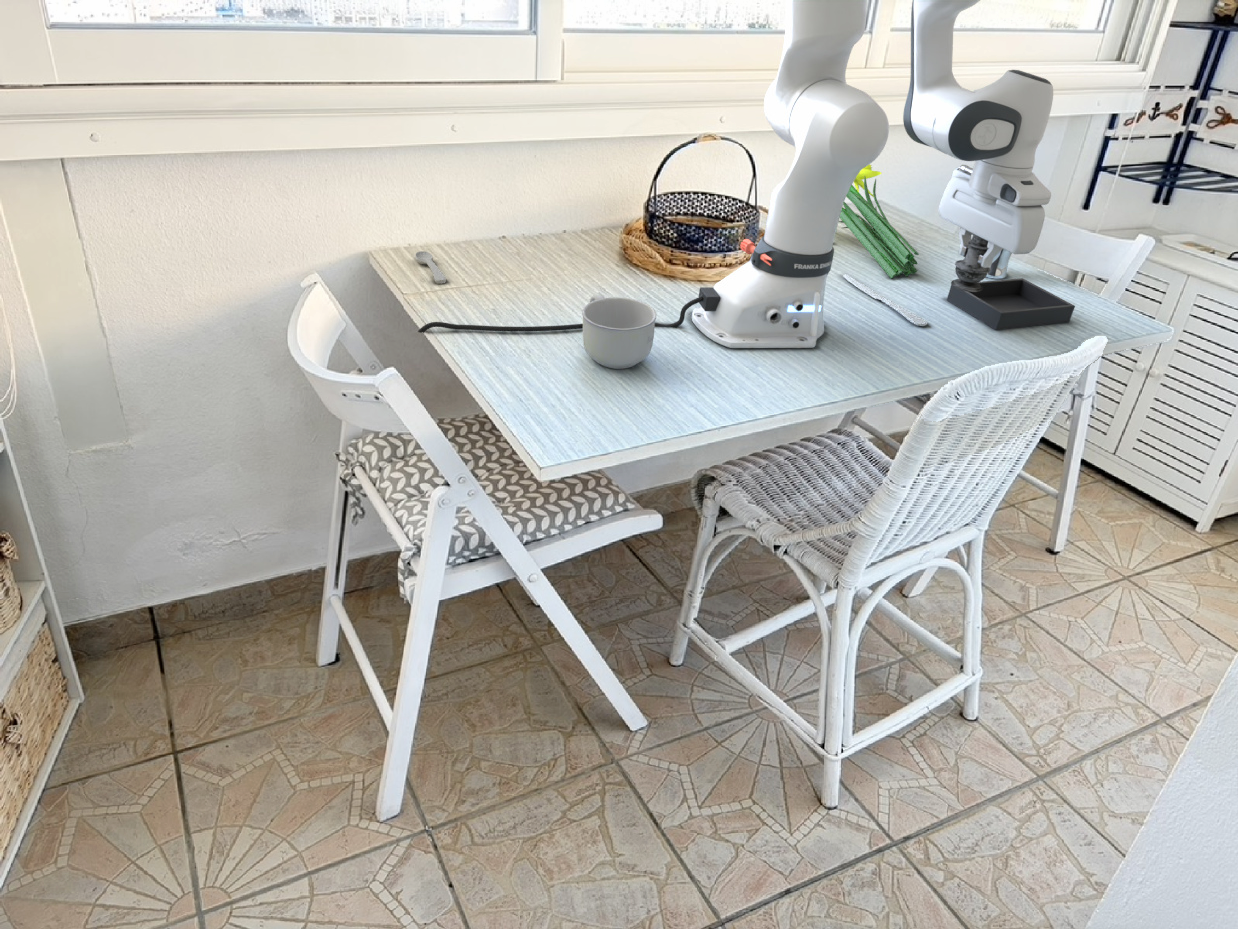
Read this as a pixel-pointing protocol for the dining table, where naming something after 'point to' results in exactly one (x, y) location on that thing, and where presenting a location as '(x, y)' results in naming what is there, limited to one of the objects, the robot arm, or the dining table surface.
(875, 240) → the daffodil flowers
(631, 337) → the teacup
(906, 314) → the butter knife
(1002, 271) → the beer glass
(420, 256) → the spoon
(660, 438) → the dining table surface
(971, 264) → the salt shaker
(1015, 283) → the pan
